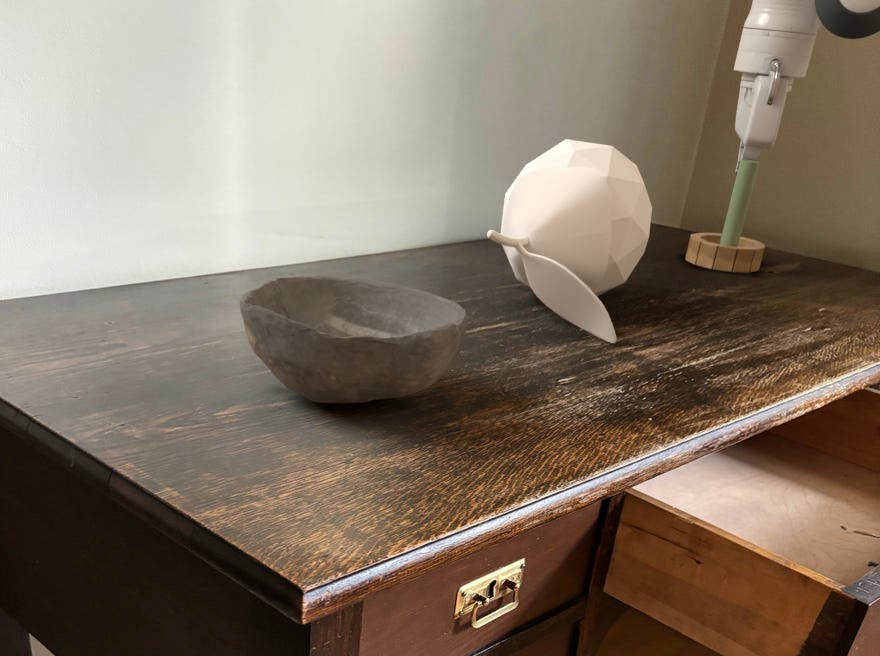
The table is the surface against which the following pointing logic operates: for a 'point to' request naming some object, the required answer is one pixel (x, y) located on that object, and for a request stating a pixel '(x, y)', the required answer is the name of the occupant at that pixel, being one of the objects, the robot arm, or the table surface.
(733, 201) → the green post
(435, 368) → the bowl
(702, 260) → the ring
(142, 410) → the table surface
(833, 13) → the robot arm
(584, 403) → the table surface
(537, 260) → the pear ornament
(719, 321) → the table surface
